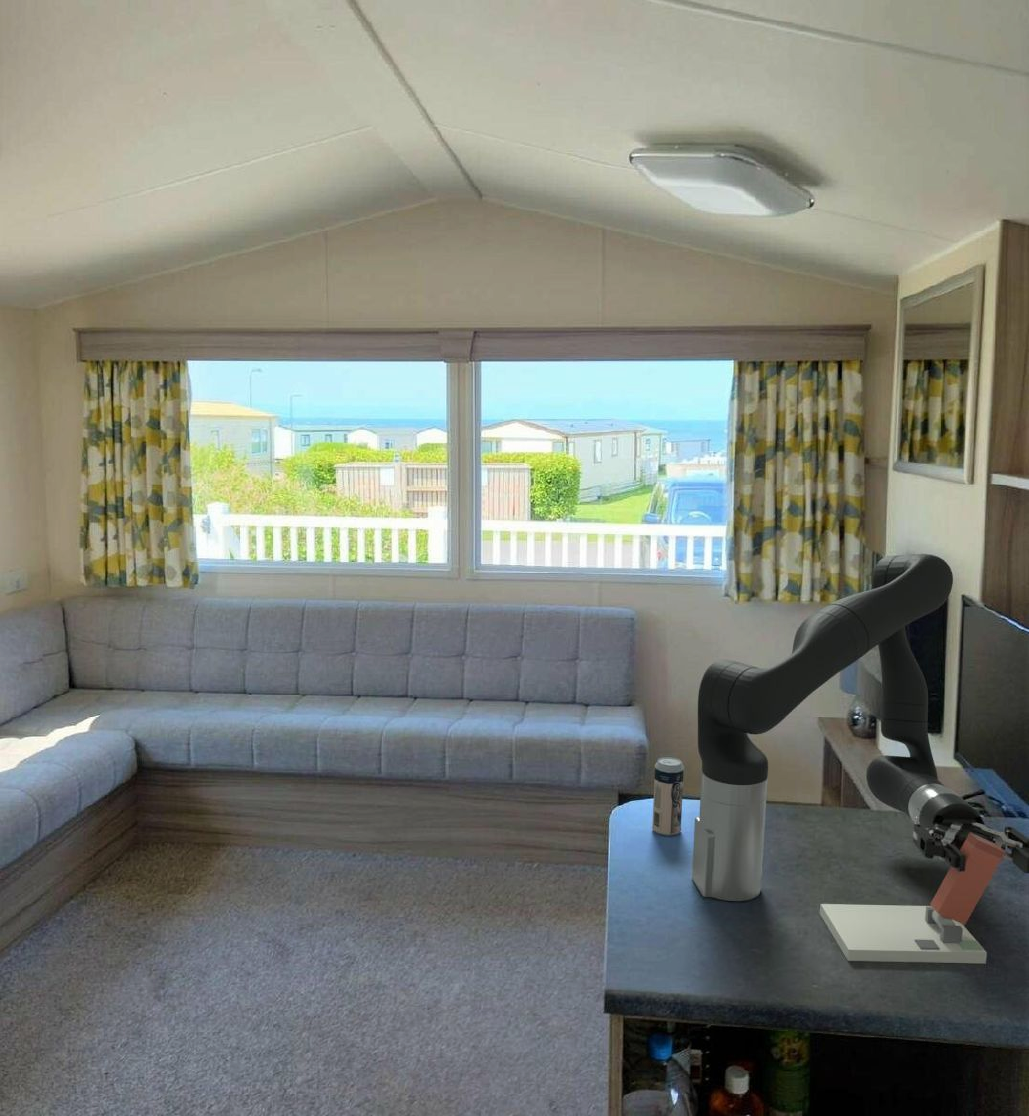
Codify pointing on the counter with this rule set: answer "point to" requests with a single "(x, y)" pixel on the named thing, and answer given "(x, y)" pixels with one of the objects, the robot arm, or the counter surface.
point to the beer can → (668, 796)
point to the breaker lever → (966, 881)
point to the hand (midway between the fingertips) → (996, 865)
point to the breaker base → (899, 935)
